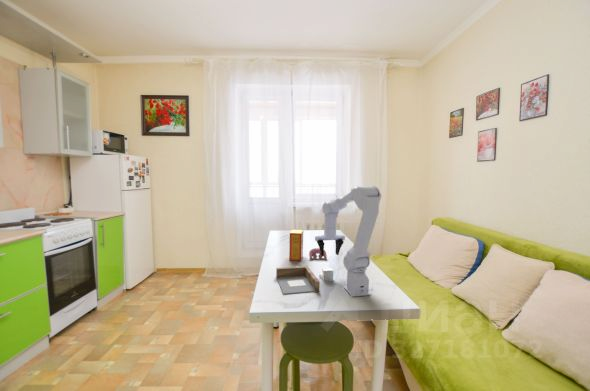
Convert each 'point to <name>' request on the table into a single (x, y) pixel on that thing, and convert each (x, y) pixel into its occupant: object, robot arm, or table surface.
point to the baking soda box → (296, 245)
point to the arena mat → (295, 285)
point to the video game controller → (317, 251)
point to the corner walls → (299, 274)
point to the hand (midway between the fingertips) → (329, 254)
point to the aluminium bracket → (326, 274)
